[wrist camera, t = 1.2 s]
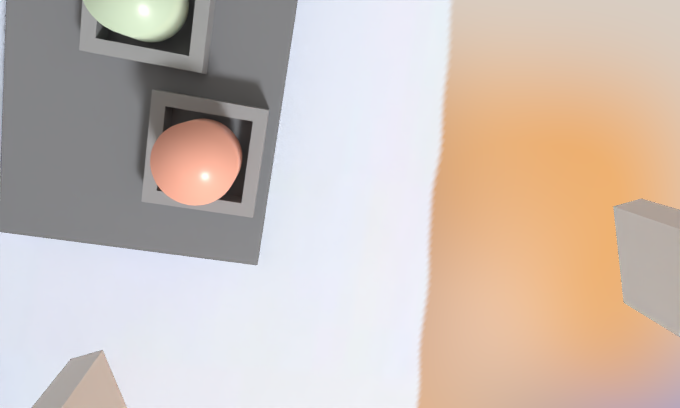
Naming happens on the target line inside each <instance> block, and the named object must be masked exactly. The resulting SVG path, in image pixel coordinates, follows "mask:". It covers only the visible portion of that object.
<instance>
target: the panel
mask: <svg viewBox="0 0 680 408" xmlns="http://www.w3.org/2000/svg"><path fill="white" fill-rule="evenodd" d="M297 1H298V0H189V12H188V16H187V19H186V21H185V23H184V25H183V26H182V28H181V29H180V30H179V31H178V32H177V33H176V34H175V35H174V36H172V37H171V38H169V39H167V40H164V41H161V42H143V41H139V40H136V39H134V38H131V37H128V36H125V35H123V34H120V33H117V32H115V31H112V30H110V29H108V28H106V27H105V26H103V25H102V24H100V23H99V22H98V21H97V20H96V19H95V18H94V17H93V16H92V15H91V14H90V12H89V11H88V9H87V8H86V6H85V4H84V2H83V0H6V29H5V58H4V88H3V118H2V148H1V177H0V232H4V233H12V234H20V235H28V236H35V237H43V238H51V239H58V240H66V241H74V242H81V243H89V244H97V245H105V246H112V247H120V248H128V249H135V250H143V251H151V252H159V253H166V254H174V255H182V256H189V257H197V258H205V259H213V260H220V261H228V262H236V263H243V264H251V265H257V264H258V258H259V251H260V245H261V238H262V232H263V225H264V218H265V212H266V205H267V199H268V192H269V185H270V179H271V172H272V166H273V159H274V153H275V146H276V139H277V133H278V126H279V120H280V113H281V106H282V100H283V93H284V87H285V80H286V74H287V67H288V60H289V54H290V47H291V41H292V34H293V27H294V21H295V14H296V8H297ZM203 118H205V119H211V120H215V121H218V122H220V123H222V124H224V125H225V126H227V127H228V128H229V129H230V130H231V131H232V132H233V133H234V134H235V136H236V137H237V139H238V141H239V143H240V145H241V149H242V165H241V169H240V171H239V173H238V175H237V177H236V179H235V180H234V182H233V184H232V186H231V187H230V188H229V190H228V191H227V192H226V193H225V194H224V195H223V196H222V197H221V198H219V199H218V200H216V201H214V202H212V203H209V204H205V205H196V206H194V205H186V204H182V203H179V202H177V201H175V200H173V199H171V198H170V197H168V196H167V195H166V194H165V193H164V192H163V191H162V190H161V189H160V188H159V187H158V185H157V184H156V182H155V180H154V178H153V175H152V172H151V167H150V156H151V151H152V148H153V145H154V143H155V142H156V140H157V139H158V137H159V136H160V135H161V134H162V133H163V132H164V131H165V130H167V129H168V128H170V127H172V126H174V125H176V124H180V123H183V122H187V121H190V120H194V119H203Z"/></svg>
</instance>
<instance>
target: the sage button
mask: <svg viewBox="0 0 680 408" xmlns="http://www.w3.org/2000/svg"><path fill="white" fill-rule="evenodd" d="M83 2H84V4H85V6H86V8H87V9H88V11H89V12H90V14H91V15H92V16H93V17H94V18H95V19H96V20H97V21H98V22H99V23H100V24H102V25H103V26H105V27H106V28H108V29H110V30H112V31H115V32H117V33H120V34H123V35H125V36H128V37H131V38H134V39H136V40H139V41H143V42H161V41H164V40H167V39H169V38H171V37H172V36H174V35H175V34H176V33H177V32H178V31H179V30H180V29H181V28H182V26H183V25H184V23H185V21H186V19H187V16H188V12H189V0H83Z"/></svg>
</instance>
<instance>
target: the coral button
mask: <svg viewBox="0 0 680 408" xmlns="http://www.w3.org/2000/svg"><path fill="white" fill-rule="evenodd" d="M241 165H242V149H241V145H240V143H239V141H238V139H237V137H236V136H235V134H234V133H233V132H232V131H231V130H230V129H229V128H228V127H227V126H225V125H224V124H222V123H220V122H218V121H215V120H211V119H205V118H203V119H194V120H190V121H187V122H183V123H180V124H176V125H174V126H172V127H170V128H168V129H167V130H165V131H164V132H163V133H162V134H161V135H160V136H159V137H158V139H157V140H156V142H155V143H154V145H153V148H152V151H151V156H150V167H151V172H152V175H153V178H154V180H155V182H156V184H157V185H158V187H159V188H160V189H161V190H162V191H163V192H164V193H165V194H166V195H167V196H168V197H170V198H171V199H173V200H175V201H177V202H179V203H182V204H186V205H194V206H196V205H205V204H209V203H212V202H214V201H216V200H218V199H219V198H221V197H222V196H223V195H224V194H225V193H226V192H227V191H228V190H229V188H230V187H231V186H232V184H233V182H234V180H235V179H236V177H237V175H238V173H239V171H240V169H241Z"/></svg>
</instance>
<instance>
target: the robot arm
mask: <svg viewBox="0 0 680 408" xmlns="http://www.w3.org/2000/svg"><path fill="white" fill-rule="evenodd" d="M614 217H615V226H616V236H617V245H618V254H619V264H620V272H621V282H622V292H623V301H624V303H625V304H627V305H628V306H630V307H631V308H633V309H635V310H636V311H638V312H640V313H641V314H643V315H645V316H646V317H648V318H649V319H651V320H653V321H654V322H656V323H658V324H659V325H661V326H662V327H664V328H666V329H667V330H669V331H671V332H672V333H674V334H675V335H677V336H679V337H680V210H679V209H675V208H672V207H668V206H665V205H661V204H658V203H655V202H651V201H647V200H644V199H638V200H635V201H631V202H628V203H624V204H621V205H617V206H614ZM32 408H127V407H126V404H125V402H124V400H123V397H122V395H121V392H120V390H119V388H118V385H117V383H116V381H115V378H114V376H113V374H112V371H111V369H110V366H109V364H108V362H107V359H106V357H105V355H104V352H103V350H101V351H97V352H94V353H90V354H87V355H83V356H79V357H76V358H72V359H70V361H69V362H68V363H67V364H66V366H65V367H64V368H63V369H62V371H61V372H60V373H59V374H58V375H57V377H56V378H55V379H54V380H53V382H52V383H51V384H50V385H49V387H48V388H47V389H46V390H45V392H44V393H43V394H42V395H41V397H40V398H39V399H38V400H37V402H36V403H35V404H34V405H33V407H32Z"/></svg>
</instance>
